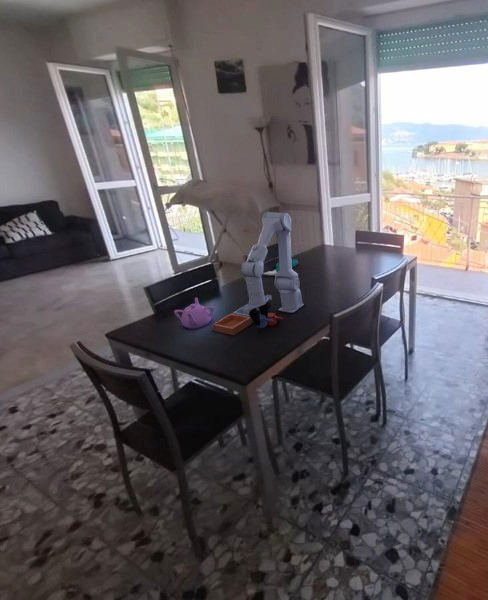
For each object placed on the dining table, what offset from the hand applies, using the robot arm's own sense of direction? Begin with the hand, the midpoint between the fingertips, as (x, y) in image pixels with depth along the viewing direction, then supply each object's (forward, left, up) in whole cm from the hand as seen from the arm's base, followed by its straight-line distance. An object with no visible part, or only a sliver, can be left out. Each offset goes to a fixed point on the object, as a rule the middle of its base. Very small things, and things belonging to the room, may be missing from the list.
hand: (261, 322), depth 143 cm
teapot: (+4, -31, -4) cm, 32 cm away
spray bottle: (-66, -39, -4) cm, 77 cm away
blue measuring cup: (0, +2, -1) cm, 2 cm away
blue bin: (-10, -14, -4) cm, 18 cm away
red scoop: (-7, +1, -4) cm, 8 cm away
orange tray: (+2, -14, -4) cm, 15 cm away
